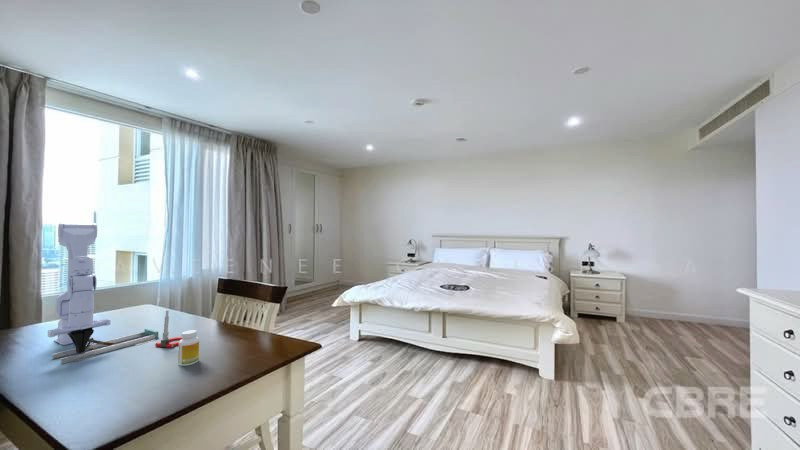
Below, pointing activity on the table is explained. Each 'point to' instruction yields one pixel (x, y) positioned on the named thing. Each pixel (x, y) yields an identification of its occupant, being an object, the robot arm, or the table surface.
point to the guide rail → (147, 332)
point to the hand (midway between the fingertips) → (80, 352)
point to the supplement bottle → (188, 348)
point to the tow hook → (165, 340)
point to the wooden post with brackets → (97, 343)
